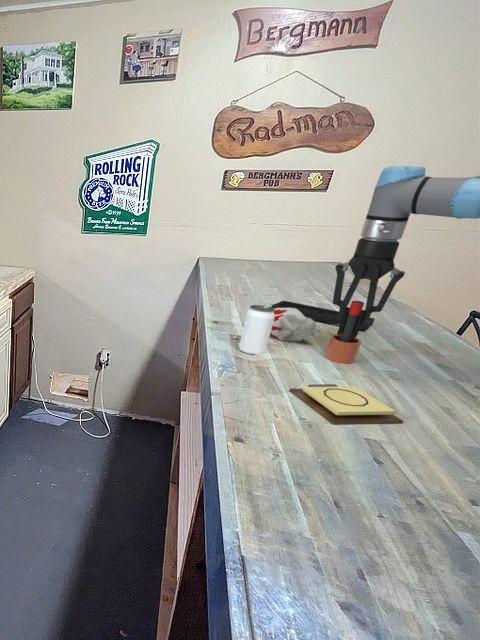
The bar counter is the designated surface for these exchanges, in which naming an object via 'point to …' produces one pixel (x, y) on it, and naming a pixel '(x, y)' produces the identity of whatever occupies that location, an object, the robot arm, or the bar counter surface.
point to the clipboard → (342, 418)
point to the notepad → (348, 401)
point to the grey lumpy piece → (291, 325)
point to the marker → (351, 321)
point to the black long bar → (318, 313)
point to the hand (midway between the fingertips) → (347, 334)
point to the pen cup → (342, 350)
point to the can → (256, 329)
